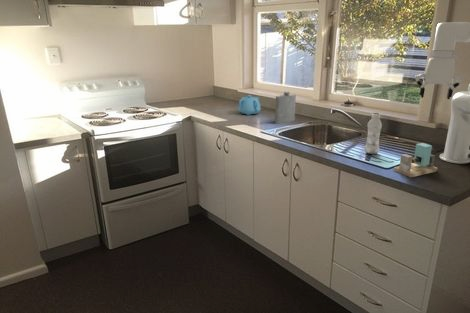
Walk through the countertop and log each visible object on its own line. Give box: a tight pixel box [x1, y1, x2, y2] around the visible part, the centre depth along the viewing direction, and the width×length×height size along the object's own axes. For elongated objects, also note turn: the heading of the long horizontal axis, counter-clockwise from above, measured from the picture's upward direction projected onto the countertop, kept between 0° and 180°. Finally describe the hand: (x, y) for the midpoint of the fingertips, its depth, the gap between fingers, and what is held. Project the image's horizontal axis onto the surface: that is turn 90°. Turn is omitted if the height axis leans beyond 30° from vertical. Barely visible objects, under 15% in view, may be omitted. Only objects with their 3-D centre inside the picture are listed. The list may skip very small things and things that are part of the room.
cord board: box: [392, 153, 438, 178], centre depth 157 cm, size 16×9×8 cm, turn 116°
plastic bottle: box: [364, 112, 383, 155], centre depth 178 cm, size 6×7×20 cm
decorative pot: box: [237, 94, 261, 116], centre depth 267 cm, size 16×16×14 cm
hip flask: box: [274, 91, 297, 124], centre depth 241 cm, size 16×4×20 cm, turn 123°
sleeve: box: [413, 142, 433, 166], centre depth 157 cm, size 4×5×9 cm
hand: (434, 98), depth 152 cm, fingers open, 9 cm apart
